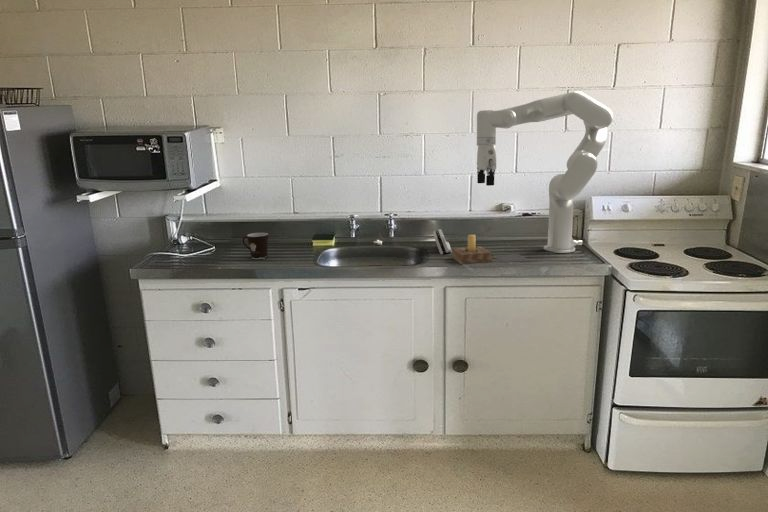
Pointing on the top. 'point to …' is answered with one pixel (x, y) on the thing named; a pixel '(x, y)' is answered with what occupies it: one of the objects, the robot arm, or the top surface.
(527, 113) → the robot arm
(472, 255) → the hole block
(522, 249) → the top surface
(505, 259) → the mat
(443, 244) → the white plastic device case
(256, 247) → the coffee mug
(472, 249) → the peg
